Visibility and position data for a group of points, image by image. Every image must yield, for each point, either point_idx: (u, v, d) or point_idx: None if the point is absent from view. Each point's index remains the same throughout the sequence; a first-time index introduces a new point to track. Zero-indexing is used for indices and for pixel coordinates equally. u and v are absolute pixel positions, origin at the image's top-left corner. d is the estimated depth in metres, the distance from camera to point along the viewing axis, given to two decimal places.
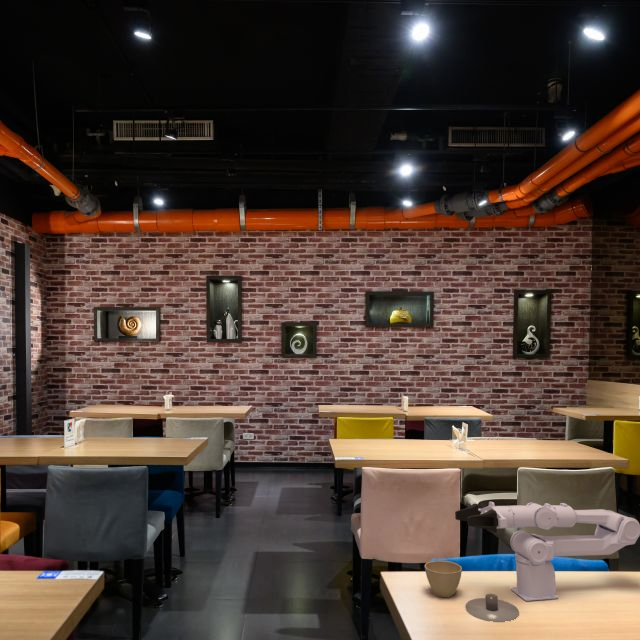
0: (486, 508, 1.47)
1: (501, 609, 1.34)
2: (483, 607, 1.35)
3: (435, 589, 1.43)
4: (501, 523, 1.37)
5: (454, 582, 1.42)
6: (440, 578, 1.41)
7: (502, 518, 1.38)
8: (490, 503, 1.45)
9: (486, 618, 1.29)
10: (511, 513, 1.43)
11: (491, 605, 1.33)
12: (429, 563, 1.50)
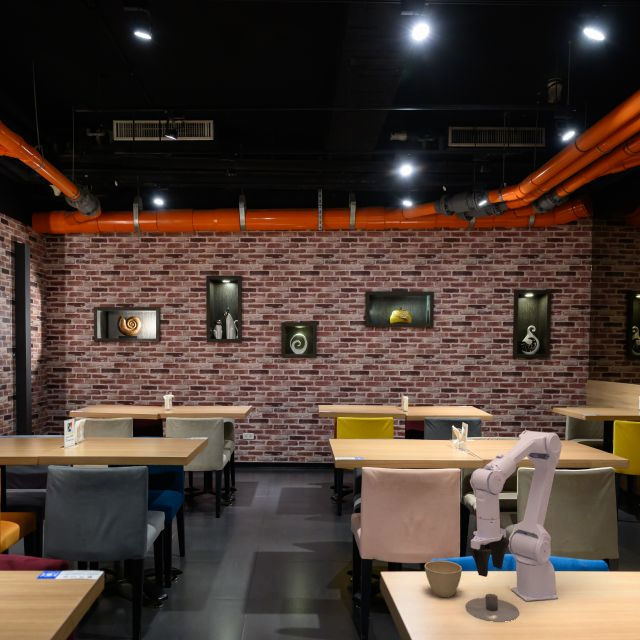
0: None
1: (501, 609, 1.34)
2: (483, 607, 1.35)
3: (435, 589, 1.43)
4: (475, 546, 1.31)
5: (454, 582, 1.42)
6: (440, 578, 1.41)
7: None
8: None
9: (486, 618, 1.29)
10: (478, 519, 1.36)
11: (491, 605, 1.33)
12: (429, 563, 1.50)
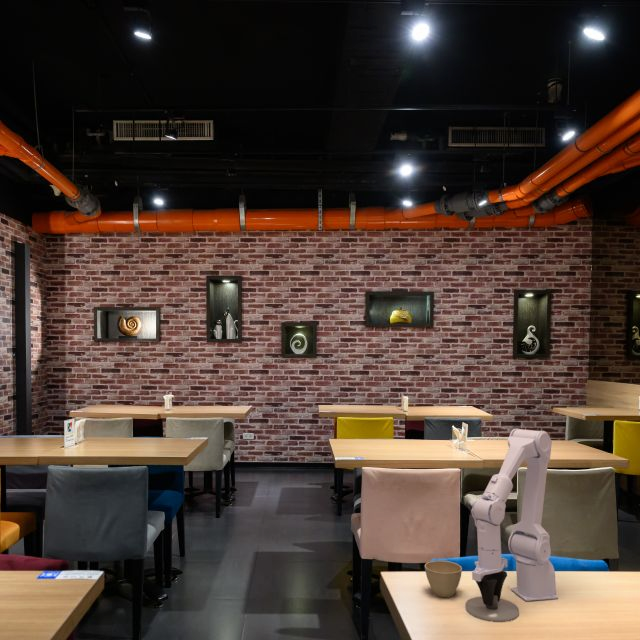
0: None
1: (501, 607, 1.34)
2: (483, 606, 1.35)
3: (435, 589, 1.43)
4: (476, 578, 1.31)
5: (454, 582, 1.42)
6: (440, 578, 1.41)
7: None
8: None
9: (486, 616, 1.29)
10: (479, 550, 1.35)
11: None
12: (429, 563, 1.50)
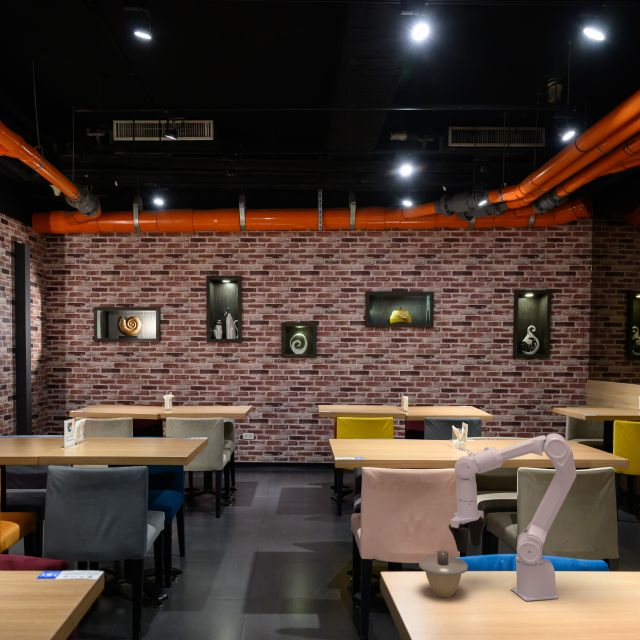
0: None
1: (451, 564, 1.45)
2: (435, 562, 1.47)
3: (435, 589, 1.43)
4: (454, 525, 1.46)
5: (454, 582, 1.42)
6: (440, 578, 1.41)
7: None
8: None
9: (436, 570, 1.41)
10: (458, 501, 1.51)
11: (441, 560, 1.45)
12: None
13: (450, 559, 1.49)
